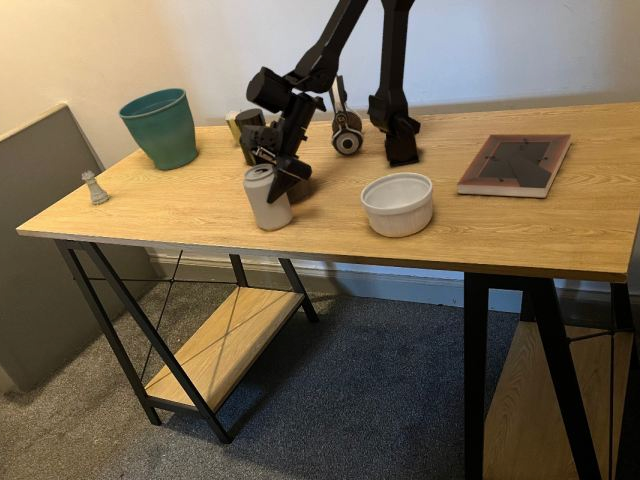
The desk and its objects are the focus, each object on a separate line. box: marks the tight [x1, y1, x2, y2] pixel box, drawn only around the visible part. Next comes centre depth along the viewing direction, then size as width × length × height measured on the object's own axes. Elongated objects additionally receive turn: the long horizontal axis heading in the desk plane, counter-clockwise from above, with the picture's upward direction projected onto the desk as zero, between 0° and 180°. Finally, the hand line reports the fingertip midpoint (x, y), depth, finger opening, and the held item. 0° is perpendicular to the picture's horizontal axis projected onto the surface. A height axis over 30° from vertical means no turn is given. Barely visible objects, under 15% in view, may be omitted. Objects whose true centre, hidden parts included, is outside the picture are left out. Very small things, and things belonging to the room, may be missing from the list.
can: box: [242, 164, 294, 231], centre depth 115 cm, size 8×8×12 cm
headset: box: [327, 73, 365, 157], centre depth 135 cm, size 17×8×20 cm, turn 1°
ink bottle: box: [235, 107, 275, 167], centre depth 144 cm, size 10×9×12 cm
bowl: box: [276, 167, 315, 206], centre depth 127 cm, size 11×11×5 cm
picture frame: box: [456, 133, 572, 199], centre depth 114 cm, size 16×2×22 cm
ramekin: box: [360, 171, 434, 238], centre depth 106 cm, size 13×13×7 cm
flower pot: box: [117, 87, 199, 171], centre depth 155 cm, size 18×18×17 cm
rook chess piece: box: [81, 170, 110, 205], centre depth 147 cm, size 4×4×8 cm
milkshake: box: [224, 110, 242, 147], centre depth 156 cm, size 4×5×10 cm
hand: (260, 197), depth 115 cm, fingers closed on can, 7 cm apart
